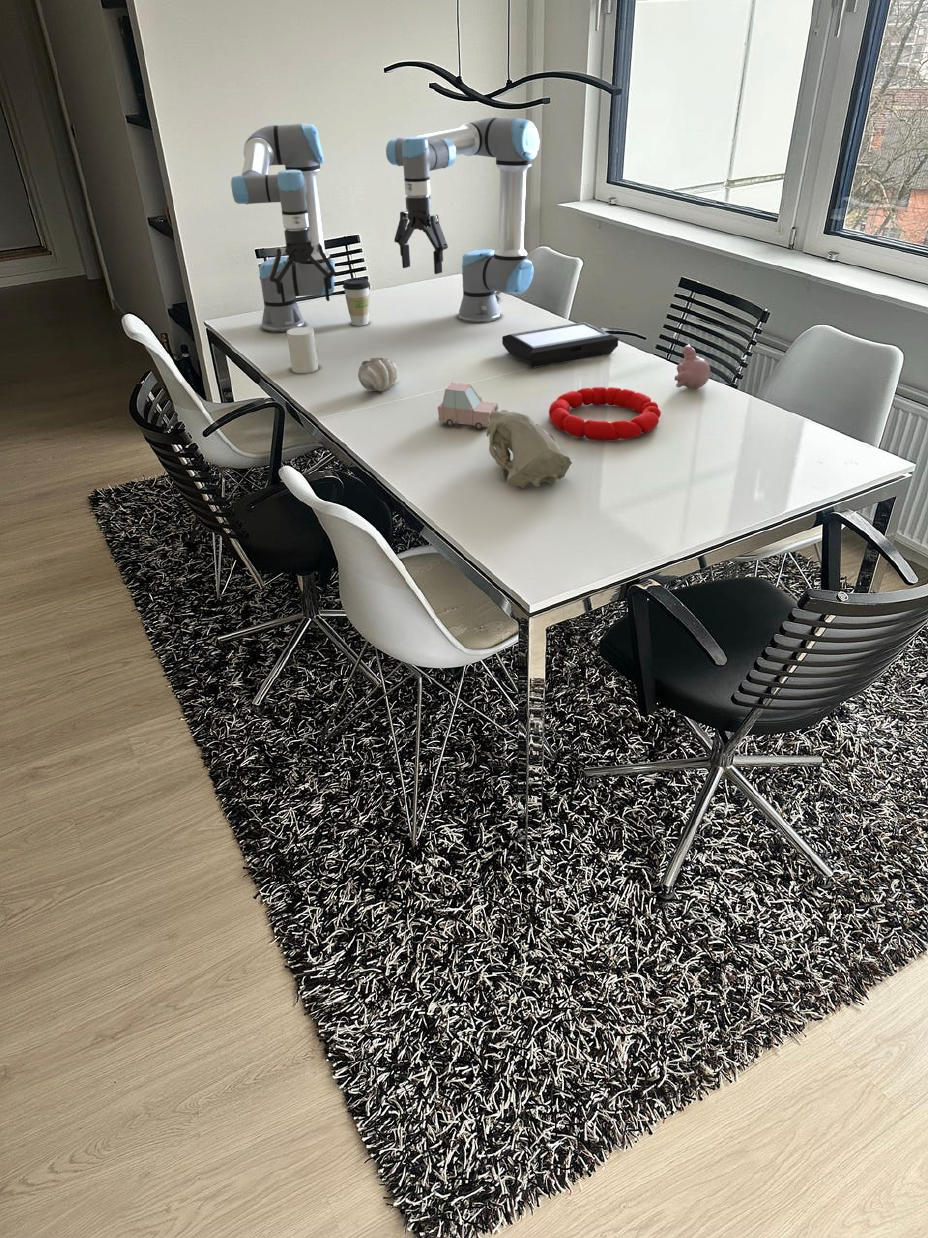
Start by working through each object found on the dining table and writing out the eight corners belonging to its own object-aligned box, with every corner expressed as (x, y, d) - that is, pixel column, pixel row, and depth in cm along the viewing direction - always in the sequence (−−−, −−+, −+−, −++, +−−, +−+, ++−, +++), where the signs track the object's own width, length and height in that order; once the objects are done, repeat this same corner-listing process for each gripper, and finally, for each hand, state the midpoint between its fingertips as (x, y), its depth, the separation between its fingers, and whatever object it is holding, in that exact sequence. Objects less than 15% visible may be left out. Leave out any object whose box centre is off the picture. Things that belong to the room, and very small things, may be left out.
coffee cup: (372, 326, 323) (368, 283, 314) (345, 327, 323) (340, 284, 315) (374, 318, 331) (371, 276, 322) (348, 319, 331) (344, 277, 323)
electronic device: (530, 350, 276) (502, 333, 291) (530, 370, 279) (502, 352, 294) (618, 335, 286) (586, 319, 301) (617, 354, 290) (585, 338, 305)
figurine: (665, 387, 264) (669, 347, 257) (693, 380, 268) (698, 340, 261) (686, 396, 257) (690, 355, 250) (714, 388, 262) (720, 348, 255)
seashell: (350, 390, 269) (347, 357, 264) (395, 380, 275) (392, 348, 270) (364, 400, 262) (360, 367, 256) (409, 390, 268) (407, 357, 262)
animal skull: (496, 517, 219) (521, 479, 201) (463, 429, 225) (484, 384, 207) (557, 503, 225) (586, 465, 206) (523, 417, 231) (549, 373, 212)
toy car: (488, 432, 240) (488, 396, 234) (436, 426, 244) (434, 390, 239) (499, 419, 247) (499, 384, 241) (448, 413, 252) (447, 379, 246)
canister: (287, 368, 288) (281, 330, 281) (309, 362, 292) (305, 325, 285) (300, 375, 282) (295, 336, 276) (323, 369, 287) (318, 330, 280)
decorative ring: (589, 435, 224) (684, 402, 234) (527, 398, 247) (617, 369, 256) (589, 461, 229) (683, 427, 238) (529, 422, 251) (617, 393, 260)
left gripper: (255, 234, 258) (266, 309, 270) (340, 227, 264) (347, 300, 275) (253, 229, 264) (264, 303, 276) (336, 222, 270) (343, 295, 281)
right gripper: (379, 193, 270) (385, 267, 282) (440, 201, 256) (443, 278, 268) (396, 189, 274) (401, 262, 286) (457, 197, 261) (460, 272, 273)
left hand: (306, 302), depth 276 cm, fingers open, 13 cm apart
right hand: (422, 270), depth 277 cm, fingers open, 13 cm apart
